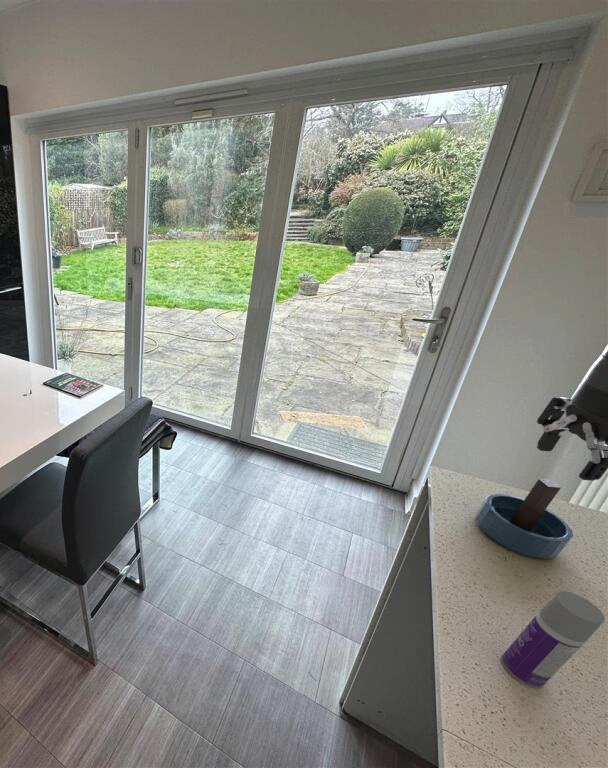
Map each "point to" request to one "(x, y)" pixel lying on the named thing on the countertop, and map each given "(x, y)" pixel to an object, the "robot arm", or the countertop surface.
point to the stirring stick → (535, 504)
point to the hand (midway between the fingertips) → (563, 463)
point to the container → (551, 638)
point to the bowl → (538, 542)
